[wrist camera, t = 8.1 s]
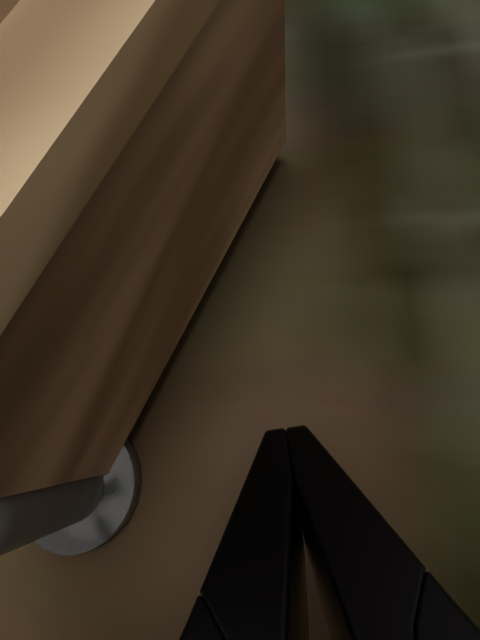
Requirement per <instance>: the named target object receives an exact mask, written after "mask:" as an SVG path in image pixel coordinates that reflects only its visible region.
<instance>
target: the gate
mask: <svg viewBox="0 0 480 640" xmlns="http://www.w3.org/2000/svg"><path fill="white" fill-rule="evenodd" d="M285 141H286V126H285V19H284V0H20V1H19V2H18V3H17V5H16V6H15V7H14V8H13V9H12V11H11V12H10V13H9V14H8V15H7V17H6V18H5V19H4V20H3V21H2V23H1V24H0V555H3V554H5V553H7V552H10V551H12V550H14V549H17V548H19V547H21V546H24V545H26V544H28V543H31V542H33V541H35V540H38V539H40V538H42V537H45V536H47V535H49V534H52V533H54V532H57V531H59V530H61V529H64V528H66V527H68V526H71V525H73V524H75V523H78V522H80V521H82V520H84V519H85V518H87V517H88V516H89V515H90V514H91V513H92V512H93V511H94V509H95V508H96V507H97V505H98V503H99V501H100V499H101V496H102V492H103V474H108V473H109V471H110V469H111V467H112V466H113V464H114V462H115V460H116V458H117V456H118V454H119V452H120V451H121V449H122V447H123V445H124V443H125V441H126V439H127V437H128V436H129V434H130V432H131V430H132V428H133V426H134V424H135V422H136V421H137V419H138V417H139V415H140V413H141V411H142V409H143V407H144V406H145V404H146V402H147V400H148V398H149V396H150V394H151V392H152V391H153V389H154V387H155V385H156V383H157V381H158V379H159V377H160V376H161V374H162V372H163V370H164V368H165V366H166V364H167V362H168V361H169V359H170V357H171V355H172V353H173V351H174V349H175V347H176V346H177V344H178V342H179V340H180V338H181V336H182V334H183V332H184V331H185V329H186V327H187V325H188V323H189V321H190V319H191V317H192V316H193V314H194V312H195V310H196V308H197V306H198V304H199V302H200V301H201V299H202V297H203V295H204V293H205V291H206V289H207V287H208V286H209V284H210V282H211V280H212V278H213V276H214V274H215V272H216V271H217V269H218V267H219V265H220V263H221V261H222V259H223V257H224V256H225V254H226V252H227V250H228V248H229V246H230V244H231V242H232V241H233V239H234V237H235V235H236V233H237V231H238V229H239V227H240V226H241V224H242V222H243V220H244V218H245V216H246V214H247V212H248V211H249V209H250V207H251V205H252V203H253V201H254V199H255V198H256V196H257V194H258V192H259V190H260V188H261V186H262V184H263V183H264V181H265V179H266V177H267V175H268V173H269V171H270V169H271V168H272V166H273V164H274V162H275V160H276V158H277V156H278V154H279V153H280V151H281V149H282V147H283V145H284V143H285Z"/></svg>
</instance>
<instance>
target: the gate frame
mask: <svg viewBox="0 0 480 640" xmlns="http://www.w3.org/2000/svg"><path fill="white" fill-rule="evenodd" d="M140 489H141V468H140V463H139V459H138V456H137V454H136V452H135V450H134V448H133V446H132V444H131V443H130V442H129V440H128V439H126V441H125V443H124V445H123V447H122V449H121V451H120V452H119V454H118V456H117V458H116V460H115V462H114V464H113V466H112V467H111V469H110V471H109V473H108V474H103V492H102V496H101V499H100V501H99V503H98V505H97V507H96V508H95V509H94V511H93V512H92V513H91V514H90V515H89V516H88V517H87V518H85V519H84V520H82V521H80V522H78V523H75V524H73V525H71V526H68V527H66V528H64V529H61V530H59V531H57V532H54V533H52V534H49V535H47V536H45V537H42V538H40V539H38V540H35V542H36V543H37V544H38V545H39V546H41V547H42V548H44V549H45V550H47V551H49V552H52V553H55V554H58V555H77V554H82V553H85V552H88V551H90V550H92V549H94V548H96V547H98V546H99V545H101V544H103V543H104V542H106V541H108V540H109V539H111V538H112V537H113V536H115V535H116V534H117V533H118V532H119V531H120V530H121V529H122V528H123V527H124V526H125V524H126V523H127V522H128V520H129V519H130V517H131V516H132V514H133V512H134V510H135V507H136V505H137V502H138V499H139V495H140Z"/></svg>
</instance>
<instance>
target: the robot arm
mask: <svg viewBox="0 0 480 640" xmlns="http://www.w3.org/2000/svg"><path fill="white" fill-rule="evenodd" d="M286 433H287V434H286ZM287 439H288V440H287ZM288 445H289V446H288ZM292 470H293V471H292ZM293 476H294V477H293ZM294 482H295V483H294ZM295 488H296V489H295ZM296 494H297V495H296ZM297 500H298V501H297ZM298 506H299V507H298ZM299 512H300V513H299ZM300 518H301V520H300ZM301 524H302V526H301ZM302 530H303V533H302ZM303 535H304V540H305V545H306V548H307V552H308V556H309V560H310V563H311V567H312V571H313V574H314V578H315V581H316V585H317V589H318V592H319V596H320V599H321V603H322V606H323V610H324V614H325V617H326V621H327V624H328V628H329V631H330V635H331V639H332V640H480V629H479V628H478V627H477V626H476V625H475V624H474V623H473V622H472V620H471V619H470V618H469V617H468V616H467V615H466V614H465V613H464V611H463V610H462V609H461V608H460V607H459V606H458V605H457V603H456V602H455V601H454V600H453V599H452V598H451V597H450V596H449V594H448V593H447V592H446V591H445V590H444V588H443V587H442V586H441V585H440V584H439V582H438V581H437V580H436V579H435V578H434V577H433V575H432V574H431V573H430V572H426V568H425V566H424V565H423V564H422V563H421V562H420V560H419V559H418V558H417V557H416V556H415V554H414V553H413V552H412V551H411V550H410V548H409V547H408V546H407V545H406V544H405V543H404V541H403V540H402V539H401V538H400V537H399V535H398V534H397V533H396V532H395V531H394V530H393V528H392V527H391V526H390V525H389V524H388V522H387V521H386V520H385V519H384V518H383V516H382V515H381V514H380V513H379V512H378V511H377V509H376V508H375V507H374V506H373V505H372V503H371V502H370V501H369V500H368V499H367V498H366V496H365V495H364V494H363V493H362V492H361V490H360V489H359V488H358V487H357V486H356V484H355V483H354V482H353V481H352V480H351V479H350V477H349V476H348V475H347V474H346V473H345V471H344V470H343V469H342V468H341V467H340V466H339V464H338V463H337V462H336V461H335V460H334V458H333V457H332V456H331V455H330V454H329V453H328V451H327V450H326V449H325V448H324V447H323V445H322V444H321V443H320V442H319V441H318V439H317V438H316V437H315V436H314V435H313V434H312V432H311V431H310V430H309V429H308V428H307V427H306V426H304V425H302V426H295V427H289V428H287V430H285V429H283V428H280V429H273V430H268V431H266V432H265V434H264V436H263V439H262V441H261V444H260V446H259V449H258V451H257V453H256V456H255V458H254V461H253V463H252V466H251V468H250V470H249V473H248V475H247V478H246V480H245V483H244V485H243V488H242V490H241V492H240V495H239V497H238V500H237V502H236V505H235V507H234V509H233V512H232V514H231V517H230V519H229V522H228V524H227V526H226V529H225V531H224V534H223V536H222V539H221V541H220V543H219V546H218V548H217V551H216V553H215V556H214V558H213V561H212V563H211V565H210V568H209V570H208V573H207V575H206V578H205V580H204V582H203V585H202V587H201V590H200V594H201V596H198V597H197V599H196V601H195V604H194V606H193V609H192V611H191V614H190V616H189V618H188V621H187V623H186V626H185V628H184V630H183V632H182V635H181V637H180V639H179V640H309V630H308V610H307V590H306V570H305V552H304V540H303ZM425 572H426V573H425Z"/></svg>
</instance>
